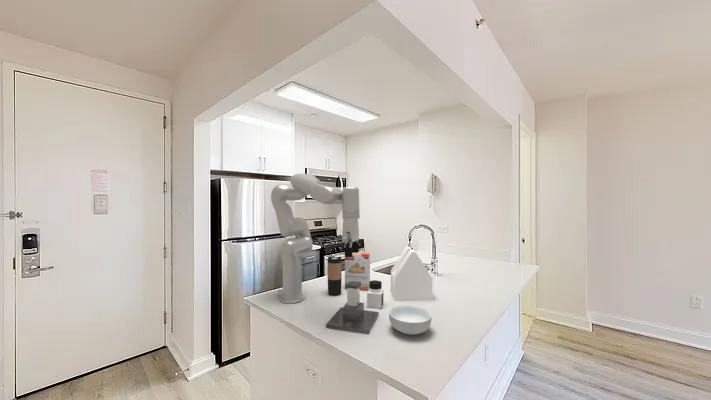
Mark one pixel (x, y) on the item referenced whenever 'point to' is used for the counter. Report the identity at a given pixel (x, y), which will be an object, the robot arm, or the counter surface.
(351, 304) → the column
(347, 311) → the stand base
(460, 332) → the counter surface
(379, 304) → the medicine bottle
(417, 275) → the white house-shaped block
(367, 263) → the cracker box
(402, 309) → the cereal bowl
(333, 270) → the travel mug
